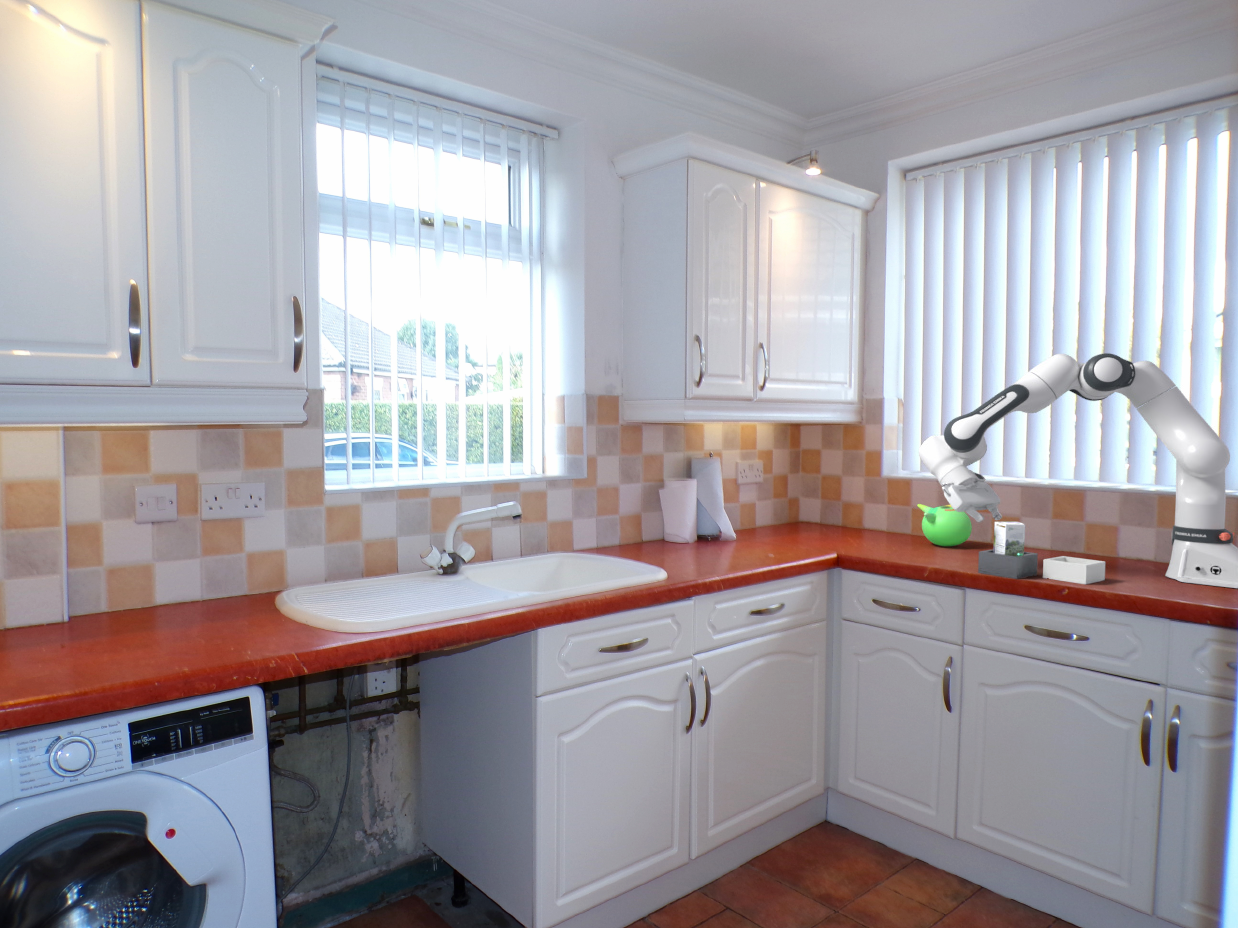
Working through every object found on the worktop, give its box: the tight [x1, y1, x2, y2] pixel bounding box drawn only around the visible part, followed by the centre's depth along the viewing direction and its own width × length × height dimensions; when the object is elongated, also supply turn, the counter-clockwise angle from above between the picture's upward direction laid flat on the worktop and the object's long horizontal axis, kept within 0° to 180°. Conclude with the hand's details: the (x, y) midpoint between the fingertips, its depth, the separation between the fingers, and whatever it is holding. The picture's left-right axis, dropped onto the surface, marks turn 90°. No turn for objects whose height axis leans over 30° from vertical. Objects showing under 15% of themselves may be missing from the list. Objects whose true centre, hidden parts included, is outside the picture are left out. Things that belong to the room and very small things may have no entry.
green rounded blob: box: [917, 503, 973, 547], centre depth 278 cm, size 18×17×15 cm
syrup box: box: [992, 521, 1026, 556], centre depth 224 cm, size 6×6×14 cm
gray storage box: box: [977, 548, 1039, 580], centre depth 225 cm, size 11×11×7 cm
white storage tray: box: [1042, 555, 1106, 585], centre depth 218 cm, size 11×11×5 cm
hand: (990, 519), depth 228 cm, fingers open, 8 cm apart
